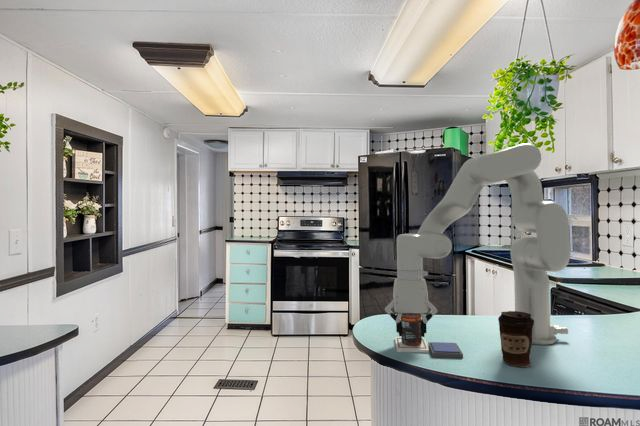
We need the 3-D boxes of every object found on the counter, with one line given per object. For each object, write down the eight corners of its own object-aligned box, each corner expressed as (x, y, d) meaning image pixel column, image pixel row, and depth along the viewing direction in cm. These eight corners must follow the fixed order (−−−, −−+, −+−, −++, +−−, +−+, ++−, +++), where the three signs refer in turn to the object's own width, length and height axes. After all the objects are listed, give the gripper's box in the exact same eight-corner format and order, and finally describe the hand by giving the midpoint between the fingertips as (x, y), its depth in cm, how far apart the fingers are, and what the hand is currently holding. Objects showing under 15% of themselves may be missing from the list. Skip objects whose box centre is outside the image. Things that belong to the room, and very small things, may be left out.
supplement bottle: (420, 339, 112) (419, 303, 112) (423, 347, 106) (422, 308, 106) (400, 339, 112) (399, 303, 112) (402, 346, 106) (401, 308, 106)
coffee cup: (534, 373, 90) (533, 320, 90) (497, 366, 94) (496, 315, 94) (535, 360, 97) (534, 311, 97) (500, 354, 101) (500, 307, 101)
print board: (424, 340, 113) (424, 337, 113) (429, 352, 104) (429, 349, 104) (394, 339, 115) (394, 336, 115) (396, 351, 105) (396, 348, 105)
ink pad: (456, 347, 107) (456, 342, 107) (463, 358, 99) (462, 352, 99) (428, 346, 108) (428, 341, 108) (432, 357, 100) (432, 351, 100)
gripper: (437, 273, 112) (438, 331, 112) (380, 272, 114) (381, 330, 114) (442, 277, 104) (443, 340, 104) (381, 277, 107) (382, 338, 107)
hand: (411, 334), depth 109 cm, fingers closed on supplement bottle, 5 cm apart
